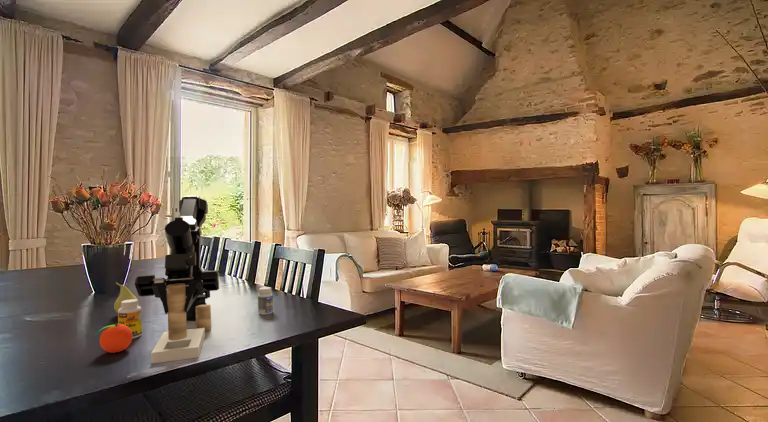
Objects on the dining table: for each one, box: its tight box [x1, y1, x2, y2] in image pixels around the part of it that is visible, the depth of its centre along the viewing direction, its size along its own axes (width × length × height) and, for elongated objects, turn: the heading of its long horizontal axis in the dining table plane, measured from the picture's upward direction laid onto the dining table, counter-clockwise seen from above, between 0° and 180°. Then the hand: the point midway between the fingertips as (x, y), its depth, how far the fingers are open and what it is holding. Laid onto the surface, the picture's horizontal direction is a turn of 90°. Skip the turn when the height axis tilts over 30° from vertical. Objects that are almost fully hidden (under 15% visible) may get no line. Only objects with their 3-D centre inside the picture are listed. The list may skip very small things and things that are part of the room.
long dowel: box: [167, 283, 187, 340], centre depth 98 cm, size 4×4×13 cm
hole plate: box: [150, 327, 206, 364], centre depth 102 cm, size 16×10×2 cm, turn 19°
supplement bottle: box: [117, 298, 143, 340], centre depth 112 cm, size 6×6×10 cm
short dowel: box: [195, 304, 212, 333], centre depth 117 cm, size 4×4×7 cm
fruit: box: [113, 281, 139, 314], centre depth 134 cm, size 7×8×12 cm
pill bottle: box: [257, 286, 274, 315], centre depth 134 cm, size 5×5×8 cm
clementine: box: [94, 323, 133, 354], centre depth 100 cm, size 8×7×7 cm
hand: (176, 312), depth 97 cm, fingers closed on long dowel, 4 cm apart
